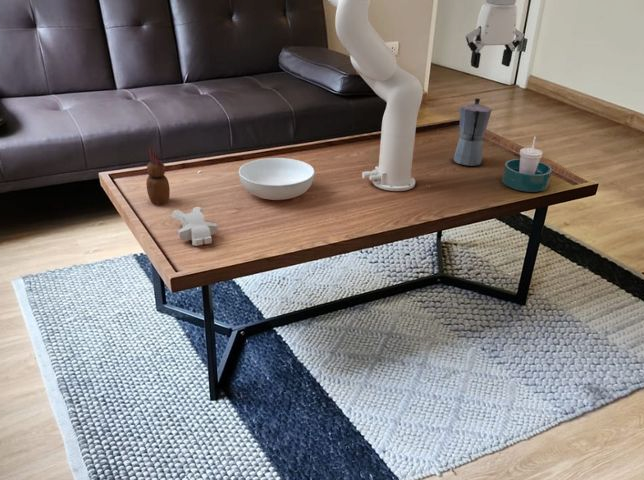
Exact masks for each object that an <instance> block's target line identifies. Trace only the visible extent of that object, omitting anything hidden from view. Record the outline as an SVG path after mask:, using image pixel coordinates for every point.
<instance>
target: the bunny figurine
mask: <svg viewBox="0 0 644 480" xmlns="http://www.w3.org/2000/svg"><path fill="white" fill-rule="evenodd" d="M171 217H172V219H176V221H177V220H178V221H180V222H181V226H182V227H181V228H179V229H177V236H178V239H179V240H187V241H188V240H189V241H191V244H192V246H196V247H197V246H203V245H208V244H212V243H213V239H212V236H213V235H215V234H217V233H218V232H219V231H218V224H217V223H215V222H210V221H205V216H204V210H203V209H202V207H200V206H195V207H193V208H192V211H190V212H186V213H185V212H183V211H181V210H179V209H175V210H173V212H172V214H171Z"/></svg>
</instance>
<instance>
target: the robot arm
mask: <svg viewBox="0 0 644 480" xmlns="http://www.w3.org/2000/svg"><path fill="white" fill-rule="evenodd" d="M327 1H328V3H329V4H330V5H331V6H333V7H334V8H336V11H335V18H334V19H335V20H334V23H335V25H334V26H335V32H336V36H337V38H338V40H339V42H340V43H341V45H342V46H343V47H344V49H345V50H346V51H347V52H348V54H349V58H350V63H351V65H352V67H353V68H354V70H355V71H356V72H357V74H358V75H359V76H360V77H361V78H362V79H363V80H364V82H365V83H366V84H367V85H368V86H369V87H370V88H371V90H372V91H373V92H374V93H375V94H376V95H377V96H378V97H379V98H380V99H382V100H383V101H384V102H385V103H386V106H385V110H384V113H383V116H382V121H381V131H380V143H379V144H380V145H379V146H380V147H379V158H378V165H377V166H375V168H374V169H372V170H371V171H362V172H361V177H362V179H369V181H371V183H372V184H373V185H374V187H377V188H378V189H381V190H385V191H388V192H389V191H390V192H404V191H409V190H411V189H414V187H415V186H416V179H415V178H414V177H413V176H412V167H413V160H414V159H413V158H414V151H415V150H414V149H415V141H416V140H415V139H416V129H417V122H418V115H419V112H420V108H421V105H422V101H423V96H424V91H423V86H422V84H421V81H420V80H419V79H418V78H417V76H415V75H413V74H412V73H410V72H408V71H407V70H405V69H403V68H401V67H400V65H398V64H397V63H398V62H397V57H396V55H395V53H394V51H393V50H392V48H391V47H390V46H388V44H387V43H386V42H385V40H383V38H382V37H381V36H380V35H379V33H378V32H377V31H376V30H375V28H374V27H373V26H372V23H371V22H370V20H369V9H370V5H371V0H327ZM516 3H517V0H485V3H483V4H482V5H481V8H480V11H479V14H478V17H477V22H476V25H475V29H473V30H472V31H470V32H469V33H467V34H466V35H465V39H466V40H465V41H466V43H467V46H468V48H469V49H470V51H471V56H470V67H473V68H475V69H479V67H480V62H481V56H482V54H481V50H482V49H483V48H484V47H485V46H504V48H505V49H503V52H502V59H501V65H502V66H505V67H507V68H508V67H510V65H511V62H512V57H513V52H515V51H516V48H517V47H519V45H520V43H521V41H522V40H523V38H524V36H525V34H524V33H523V32H522V31H520V30H519V29H518V28H517V16H518V14H517V13H518V10H517V9H518V8H517V5H516Z"/></svg>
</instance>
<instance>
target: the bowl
mask: <svg viewBox="0 0 644 480" xmlns="http://www.w3.org/2000/svg"><path fill="white" fill-rule="evenodd" d="M519 167H520V158H513V159H508V160H507V161H505V163H504V167H503V168H504V169H503V172H502V173H503V174H502V178H501V182H502V183H503V184H504V185H505V186H506V187H509V188H510V189H513V190H516V191H520V192H526V193H536V192H542V191H545V190H547V189H548V188H549V184H550V181H551V176H552V171H553V167H551V166H550V165H548V164H547V163H544V162H542V161H539V163H538V166H537V169H536V172H535V175H530V174H523V173H520V172H519Z"/></svg>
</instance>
